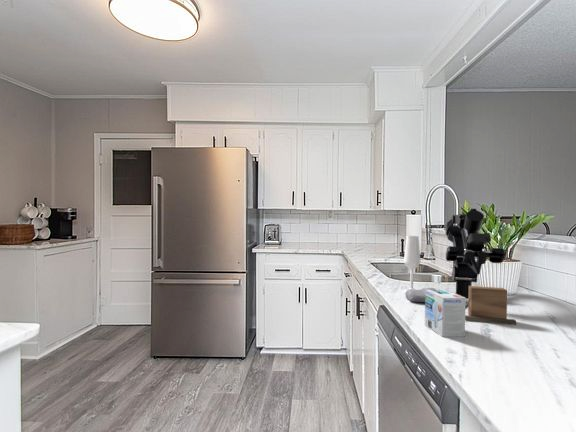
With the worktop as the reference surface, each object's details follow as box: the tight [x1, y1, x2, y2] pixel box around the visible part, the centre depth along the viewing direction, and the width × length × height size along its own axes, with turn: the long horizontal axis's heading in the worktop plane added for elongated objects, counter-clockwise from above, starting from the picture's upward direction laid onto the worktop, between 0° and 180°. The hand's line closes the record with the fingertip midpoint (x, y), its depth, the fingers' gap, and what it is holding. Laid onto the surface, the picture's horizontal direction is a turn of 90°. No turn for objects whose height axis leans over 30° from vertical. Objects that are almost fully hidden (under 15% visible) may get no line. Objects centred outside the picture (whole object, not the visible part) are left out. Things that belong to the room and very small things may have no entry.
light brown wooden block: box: [467, 285, 508, 319], centre depth 112 cm, size 4×10×10 cm, turn 75°
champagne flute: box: [403, 235, 421, 293], centre depth 149 cm, size 7×7×24 cm
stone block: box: [404, 287, 438, 303], centre depth 134 cm, size 12×5×10 cm
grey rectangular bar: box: [465, 314, 517, 326], centre depth 109 cm, size 2×14×1 cm, turn 75°
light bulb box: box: [424, 289, 467, 338], centre depth 100 cm, size 11×7×11 cm, turn 5°
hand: (478, 273), depth 122 cm, fingers closed
